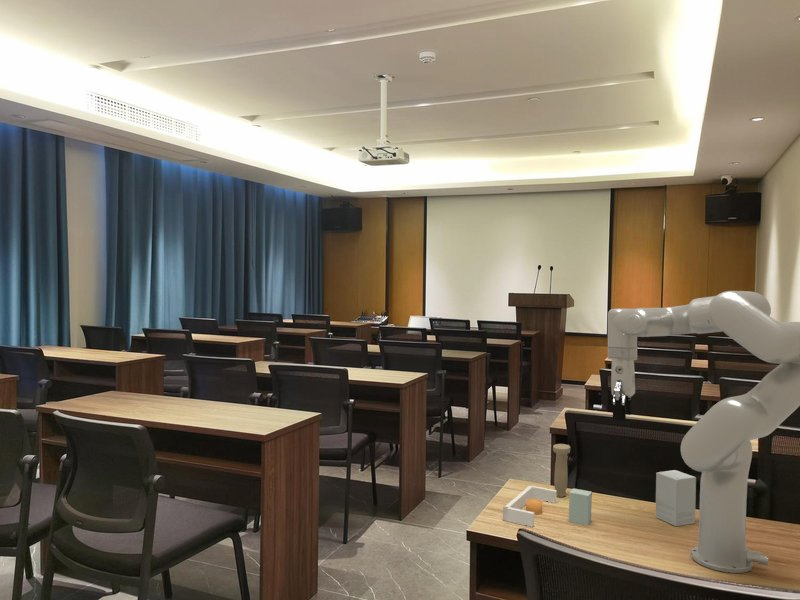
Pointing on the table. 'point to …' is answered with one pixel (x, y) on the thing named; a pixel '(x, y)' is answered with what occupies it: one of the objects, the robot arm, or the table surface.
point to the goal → (513, 508)
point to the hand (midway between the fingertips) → (622, 417)
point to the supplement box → (675, 497)
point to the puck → (534, 506)
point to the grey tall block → (580, 506)
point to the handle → (561, 468)
